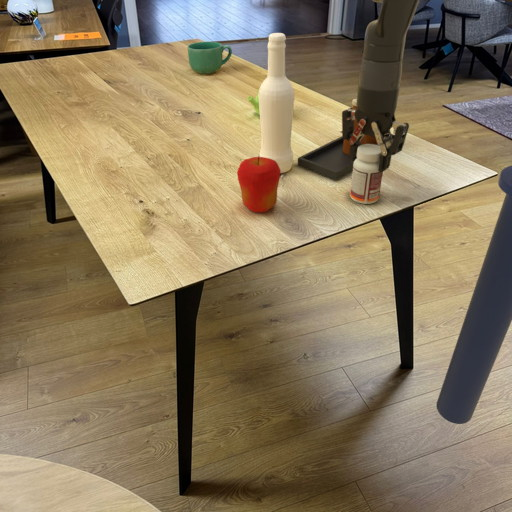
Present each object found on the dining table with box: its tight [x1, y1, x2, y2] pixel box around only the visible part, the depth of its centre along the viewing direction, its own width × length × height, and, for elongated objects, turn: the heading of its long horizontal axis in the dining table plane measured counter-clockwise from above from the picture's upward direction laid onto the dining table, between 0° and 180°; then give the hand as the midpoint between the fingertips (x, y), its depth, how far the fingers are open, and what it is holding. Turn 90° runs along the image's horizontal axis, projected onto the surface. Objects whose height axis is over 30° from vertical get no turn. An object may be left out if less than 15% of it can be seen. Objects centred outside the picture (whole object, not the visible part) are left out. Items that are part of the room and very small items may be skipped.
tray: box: [297, 133, 395, 181], centre depth 120 cm, size 28×12×2 cm, turn 135°
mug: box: [187, 41, 233, 75], centre depth 180 cm, size 17×13×10 cm
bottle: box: [258, 32, 295, 175], centre depth 107 cm, size 8×8×30 cm
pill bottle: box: [349, 144, 384, 205], centre depth 99 cm, size 6×6×11 cm
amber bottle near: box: [343, 98, 366, 155], centre depth 117 cm, size 5×5×13 cm
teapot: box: [247, 87, 260, 116], centre depth 142 cm, size 11×12×8 cm
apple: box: [236, 155, 281, 213], centre depth 97 cm, size 9×8×12 cm
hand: (368, 165), depth 98 cm, fingers closed on pill bottle, 6 cm apart
